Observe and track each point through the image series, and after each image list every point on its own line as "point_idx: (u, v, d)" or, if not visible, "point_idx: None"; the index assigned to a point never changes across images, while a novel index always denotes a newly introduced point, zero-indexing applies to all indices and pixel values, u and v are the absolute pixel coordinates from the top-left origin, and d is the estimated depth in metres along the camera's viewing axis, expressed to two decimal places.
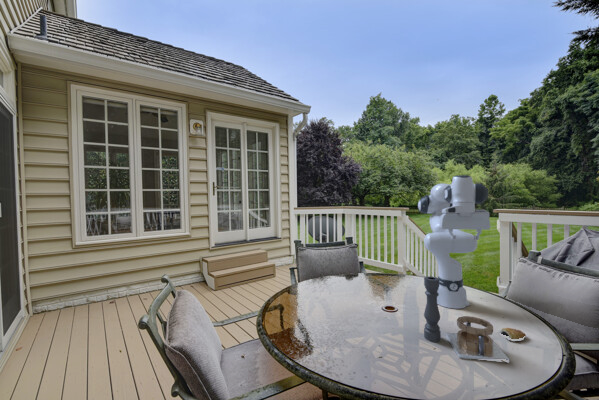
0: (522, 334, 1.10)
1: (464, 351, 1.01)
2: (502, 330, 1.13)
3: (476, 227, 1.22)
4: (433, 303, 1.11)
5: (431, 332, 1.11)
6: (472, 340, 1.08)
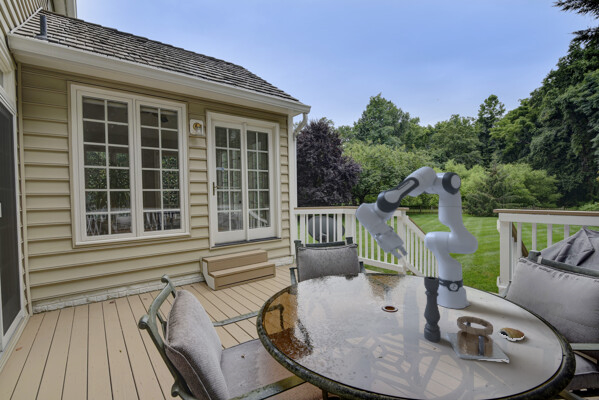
0: (521, 334, 1.11)
1: (464, 351, 1.01)
2: (501, 330, 1.13)
3: None
4: (433, 303, 1.11)
5: (431, 332, 1.11)
6: (472, 340, 1.08)
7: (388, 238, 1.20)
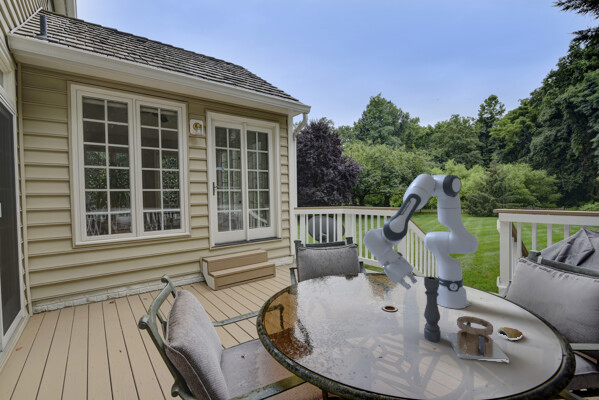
0: (519, 333, 1.11)
1: (464, 351, 1.01)
2: (500, 329, 1.13)
3: None
4: (433, 303, 1.11)
5: (431, 332, 1.11)
6: (472, 340, 1.08)
7: (396, 267, 1.18)
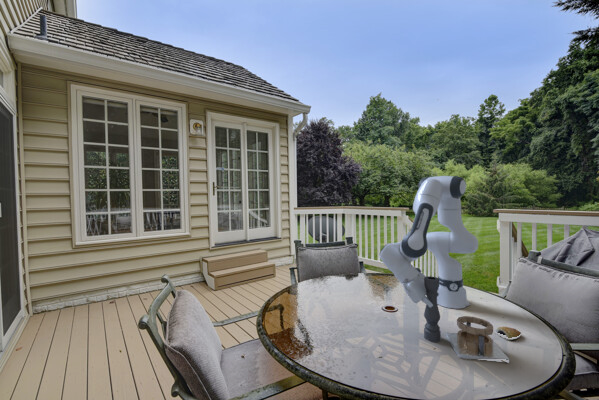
0: (518, 332, 1.12)
1: (464, 351, 1.01)
2: (499, 329, 1.14)
3: None
4: (433, 303, 1.11)
5: (431, 332, 1.11)
6: (472, 340, 1.08)
7: (416, 284, 1.13)
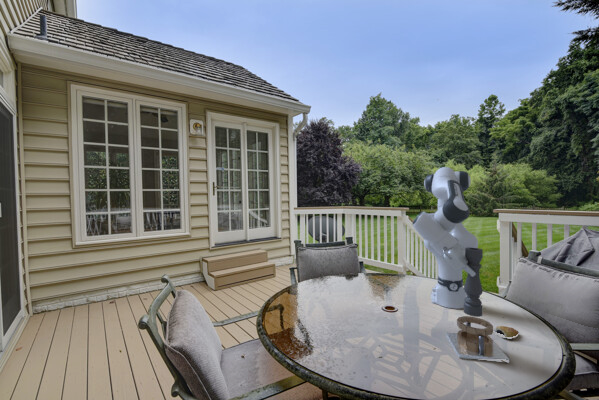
0: (516, 332, 1.12)
1: (464, 351, 1.01)
2: (497, 329, 1.14)
3: None
4: (476, 275, 1.03)
5: (473, 306, 1.03)
6: (472, 340, 1.08)
7: (457, 253, 1.05)
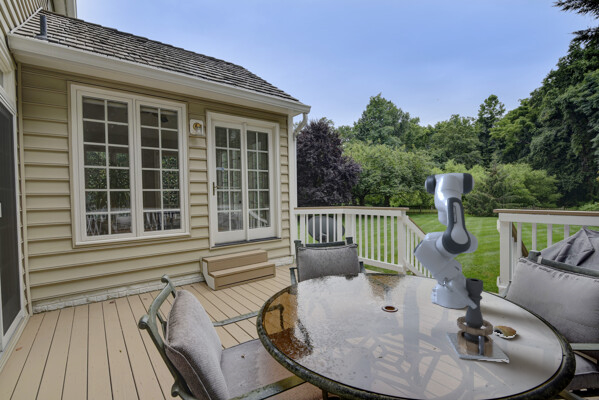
0: (514, 331, 1.13)
1: (464, 351, 1.01)
2: (495, 328, 1.14)
3: None
4: (477, 307, 1.03)
5: (474, 338, 1.03)
6: None
7: (457, 284, 1.05)
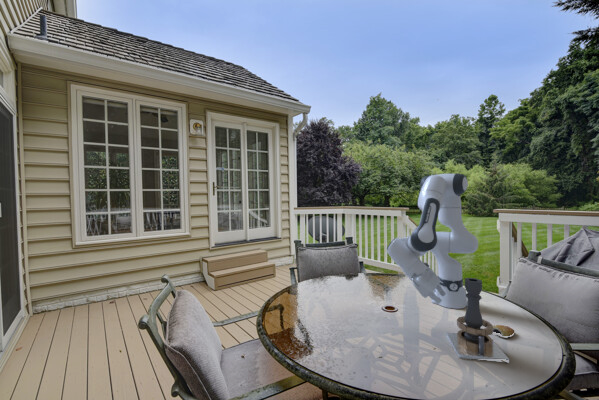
0: (512, 330, 1.14)
1: (464, 351, 1.01)
2: (494, 328, 1.15)
3: None
4: (476, 307, 1.03)
5: (474, 338, 1.03)
6: None
7: (425, 279, 1.12)
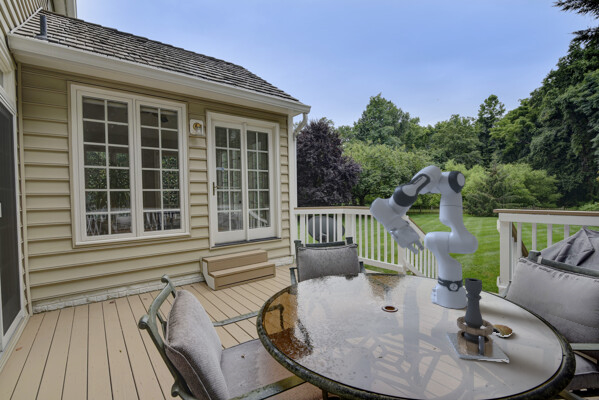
0: (510, 329, 1.14)
1: (464, 351, 1.01)
2: None
3: None
4: (476, 307, 1.03)
5: (474, 338, 1.03)
6: None
7: (404, 233, 1.18)
